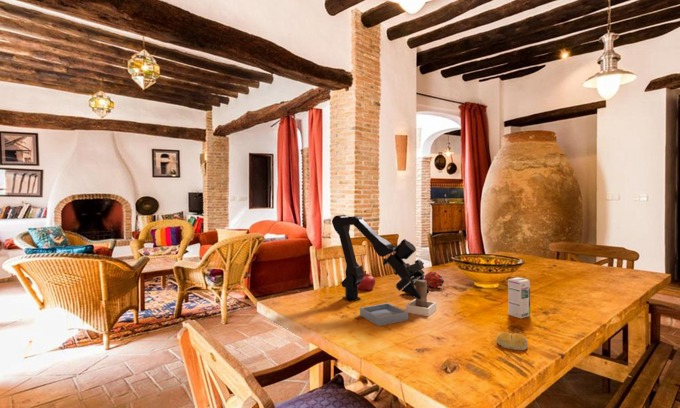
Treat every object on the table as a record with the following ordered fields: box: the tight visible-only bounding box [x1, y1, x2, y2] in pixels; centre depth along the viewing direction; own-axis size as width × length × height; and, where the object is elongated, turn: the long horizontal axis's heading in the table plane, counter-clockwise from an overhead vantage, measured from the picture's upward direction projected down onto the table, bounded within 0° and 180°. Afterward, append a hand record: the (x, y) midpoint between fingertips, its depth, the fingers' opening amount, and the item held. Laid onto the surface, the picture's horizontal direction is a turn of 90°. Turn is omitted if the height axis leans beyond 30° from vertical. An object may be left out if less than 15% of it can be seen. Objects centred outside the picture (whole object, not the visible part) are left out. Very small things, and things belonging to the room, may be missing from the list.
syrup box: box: [507, 277, 531, 319], centre depth 146 cm, size 6×6×14 cm
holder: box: [405, 298, 437, 317], centre depth 153 cm, size 10×10×3 cm
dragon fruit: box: [424, 271, 445, 289], centre depth 189 cm, size 8×8×12 cm
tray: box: [359, 302, 409, 327], centre depth 145 cm, size 14×14×3 cm
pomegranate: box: [357, 270, 376, 291], centre depth 188 cm, size 10×10×9 cm
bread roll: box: [496, 331, 529, 351], centre depth 118 cm, size 8×9×4 cm
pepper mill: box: [415, 280, 428, 308], centre depth 152 cm, size 4×4×12 cm
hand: (424, 295), depth 152 cm, fingers open, 9 cm apart
